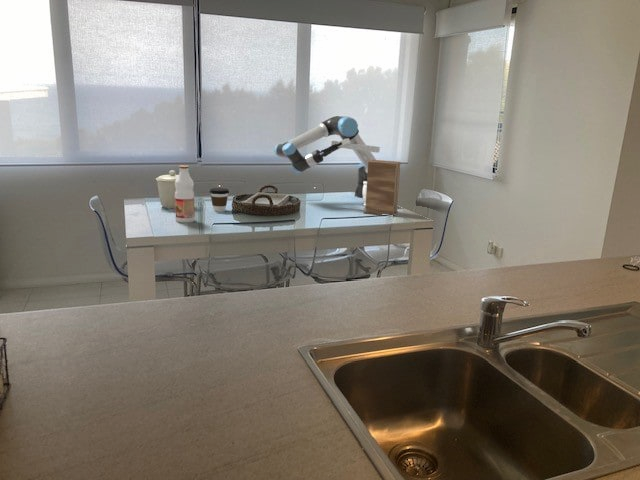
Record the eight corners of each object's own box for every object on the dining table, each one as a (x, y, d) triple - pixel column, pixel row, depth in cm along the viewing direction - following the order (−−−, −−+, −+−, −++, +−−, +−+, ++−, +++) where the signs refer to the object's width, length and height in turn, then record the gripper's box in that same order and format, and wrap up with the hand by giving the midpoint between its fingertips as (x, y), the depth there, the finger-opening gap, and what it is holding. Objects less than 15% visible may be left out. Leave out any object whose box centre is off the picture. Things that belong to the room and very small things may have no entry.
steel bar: (333, 146, 314) (333, 141, 313) (379, 152, 305) (379, 146, 304) (331, 146, 310) (331, 141, 309) (377, 152, 302) (378, 147, 301)
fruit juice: (193, 223, 266) (192, 167, 259) (174, 222, 265) (172, 166, 258) (195, 219, 275) (194, 165, 268) (177, 218, 274) (175, 164, 268)
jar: (376, 207, 326) (377, 183, 323) (359, 206, 330) (361, 182, 326) (379, 205, 336) (381, 181, 332) (364, 203, 339) (365, 180, 336)
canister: (194, 205, 311) (193, 169, 306) (183, 211, 294) (182, 173, 289) (164, 203, 313) (162, 167, 308) (151, 209, 296) (150, 171, 290)
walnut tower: (369, 209, 319) (373, 159, 312) (397, 212, 314) (401, 161, 307) (364, 213, 308) (367, 161, 300) (392, 216, 302) (396, 163, 295)
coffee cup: (205, 210, 297) (205, 189, 294) (217, 208, 306) (217, 187, 303) (221, 213, 292) (221, 191, 289) (233, 210, 302) (233, 189, 299)
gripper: (322, 162, 325) (355, 145, 316) (312, 165, 310) (346, 147, 300) (317, 151, 325) (349, 133, 316) (306, 153, 309) (340, 135, 300)
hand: (348, 140), depth 308 cm, fingers closed on steel bar, 4 cm apart
